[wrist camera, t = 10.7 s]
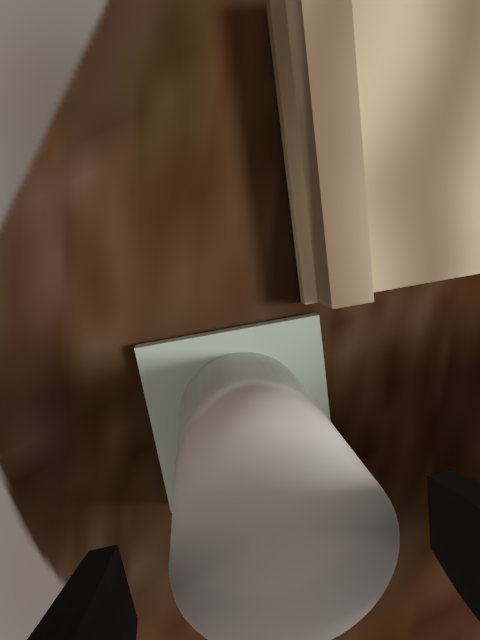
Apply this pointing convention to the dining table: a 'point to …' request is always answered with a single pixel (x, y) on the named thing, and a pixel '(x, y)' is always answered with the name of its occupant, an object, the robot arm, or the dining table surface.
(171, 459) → the mat
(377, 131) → the cradle
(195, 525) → the white domed cylinder
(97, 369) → the dining table surface
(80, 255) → the dining table surface
